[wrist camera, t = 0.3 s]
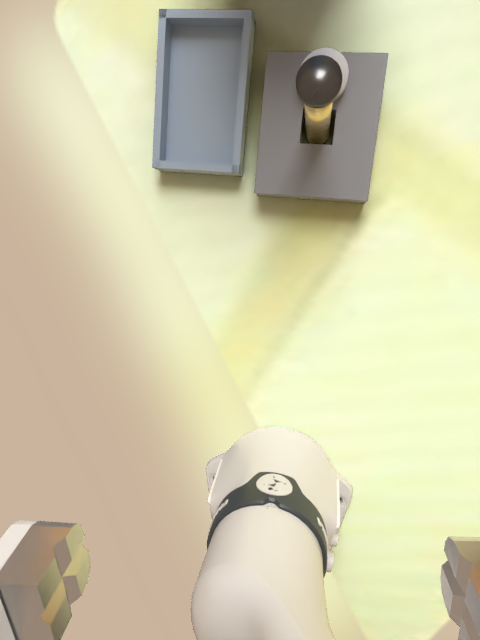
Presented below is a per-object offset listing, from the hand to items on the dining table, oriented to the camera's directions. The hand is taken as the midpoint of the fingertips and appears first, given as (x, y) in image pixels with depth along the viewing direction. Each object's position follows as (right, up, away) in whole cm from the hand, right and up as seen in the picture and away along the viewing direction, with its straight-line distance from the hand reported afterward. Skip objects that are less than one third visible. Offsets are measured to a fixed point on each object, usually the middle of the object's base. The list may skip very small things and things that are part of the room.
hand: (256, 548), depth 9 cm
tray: (-4, +30, +38) cm, 49 cm away
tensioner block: (+8, +26, +37) cm, 46 cm away
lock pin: (+8, +26, +37) cm, 46 cm away
